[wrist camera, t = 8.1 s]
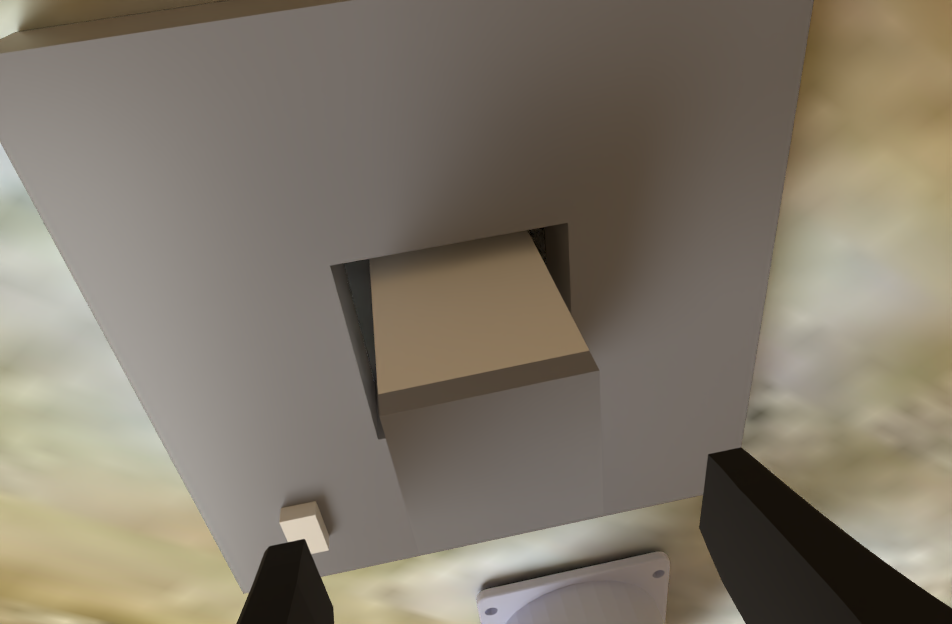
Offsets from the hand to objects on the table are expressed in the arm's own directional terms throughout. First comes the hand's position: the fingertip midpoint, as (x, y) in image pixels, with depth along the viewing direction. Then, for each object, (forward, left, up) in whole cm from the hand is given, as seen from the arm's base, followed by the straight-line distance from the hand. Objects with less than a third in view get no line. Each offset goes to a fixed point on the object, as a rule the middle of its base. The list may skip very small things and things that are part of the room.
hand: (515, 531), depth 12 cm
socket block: (0, 0, -8) cm, 8 cm away
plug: (0, 0, -8) cm, 8 cm away
